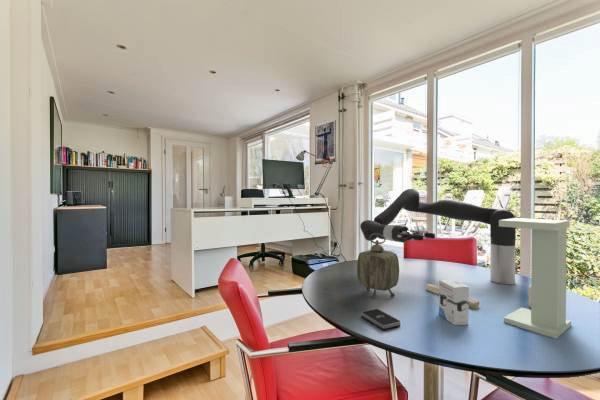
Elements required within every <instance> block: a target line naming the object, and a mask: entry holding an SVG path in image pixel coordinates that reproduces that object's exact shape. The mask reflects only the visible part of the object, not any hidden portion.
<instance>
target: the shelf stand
mask: <svg viewBox="0 0 600 400" xmlns="http://www.w3.org/2000/svg"><path fill="white" fill-rule="evenodd" d="M570 221H571V220H564V219H563V220H562V219H561V220H560V219H546V218H545V219H543V218H524V217H515V218H512V219H504V220H499V226H501V227H514V228H517V229H527V230H529V229H530V230H531V259H530V260H531V273H530V274H531V275H530V276H531V277H530V279H531V280H530V281H531V282H530V285H531V307H530V308H529V309H528V308H524V307H519V308H518V309H516V310H514V311H512V312H511V313H509V314H507V315H505V316H504V317H503V323H506V324H508V325H512V326H515V327H517V328H521V329H525V330H527V331H530V332H533V333H536V334H540V335H544V336H546V337H549V338H553V339H557V338H558V337H560V336H561V335H562V334H563V333H564V332H566V331H567V330H568V329H570V327H572V320H569V319H567V313H566V312H567V241H568V240H567V238H568V237H567V236H568V235H567V233H568V232H567V231H568V230H567V229H568V228H571V223H570Z"/></svg>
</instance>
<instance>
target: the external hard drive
mask: <svg viewBox="0 0 600 400" xmlns="http://www.w3.org/2000/svg"><path fill="white" fill-rule="evenodd" d="M360 316H361V318H362V319H363V318H364V320H366V322H368V323H370V324H371V325H373V326H375V327H376V328H377V329H379V330H381V331H385V332H386V331H390V330H393V329H396V328H400V327H401V320H399V319H398V318H396V317H394V316H392V315H391V314H388V313H386V312H385V311H383V310H381V309H380V308H373V309H368V310H365V311H364V310H363V311H361V314H360Z"/></svg>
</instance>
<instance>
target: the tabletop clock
mask: <svg viewBox="0 0 600 400" xmlns="http://www.w3.org/2000/svg"><path fill="white" fill-rule="evenodd" d="M372 235H380V236H382V237H383V238H384V239H383V241H380V242H379V239H375V241H374V240H371V239H370V237H371V236H372ZM369 239H370V241H369V242H371V243H373V245H371V247H370V249H368V250H365V251H361V252H359V253H358V256H357V266H356V269H357V272H356V273H357V274H356V275H357V276H356V277H357V281H358V284H360V285H361V286H363V287H365V289H366V291H367V292H370V291H371V289H372V290H373V293H372V295H371V296H372V298H373V299H375V298H377V297H378V296H377V291H382V292H385V291H388V292H389V294H390V297H391V298H395V297H396V294H395V293H393V292H392V290H391V289H393V288H395V287H396V286H397V285H398V283H399V280H400V278H399V277H400V263H399V262H400V261H399V258H398V255H397V253H395V252H393V251H391V250H386V249H384V247H383V246H382V244H384V243H385V242H386V240H385V237H384V236H383V235H382V234H379V233H373V234H371V235H370V236H369Z"/></svg>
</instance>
